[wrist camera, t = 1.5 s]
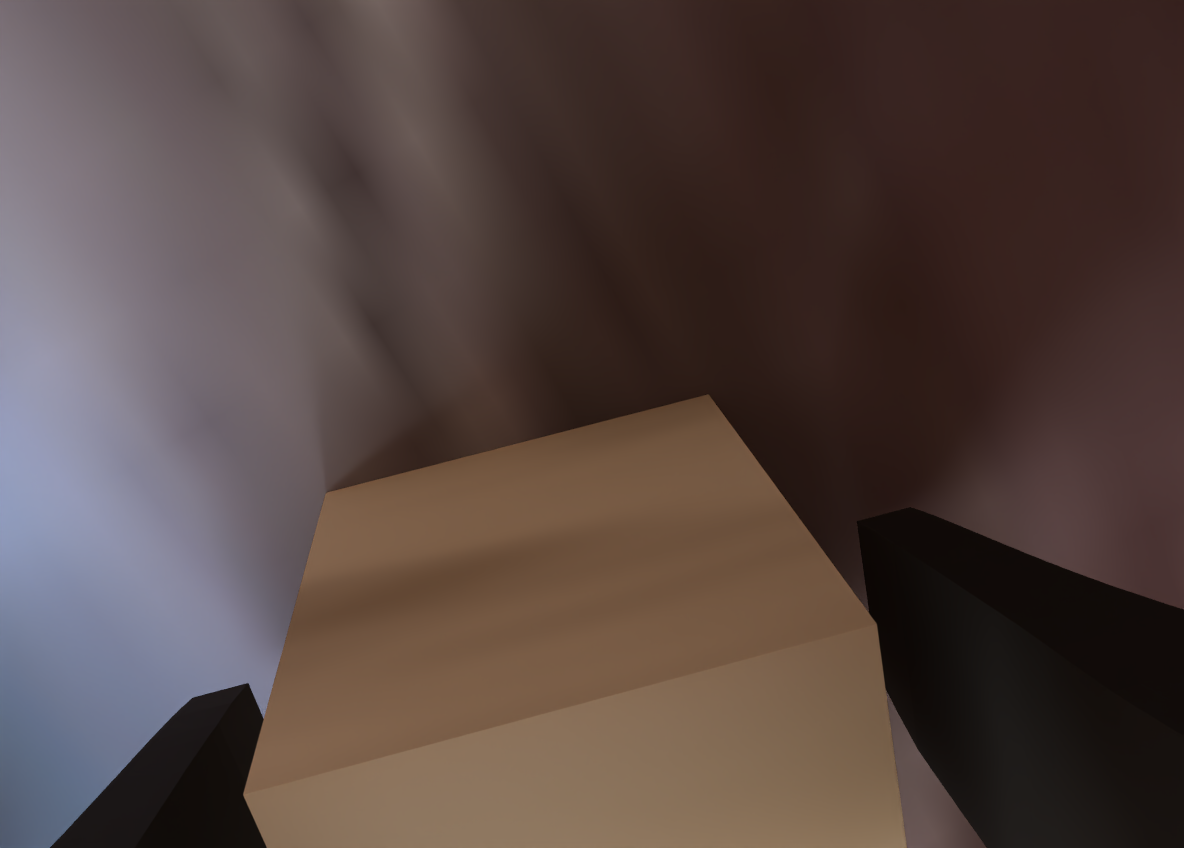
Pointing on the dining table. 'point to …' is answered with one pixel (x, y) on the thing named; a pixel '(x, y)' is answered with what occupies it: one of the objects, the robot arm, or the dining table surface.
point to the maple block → (577, 658)
